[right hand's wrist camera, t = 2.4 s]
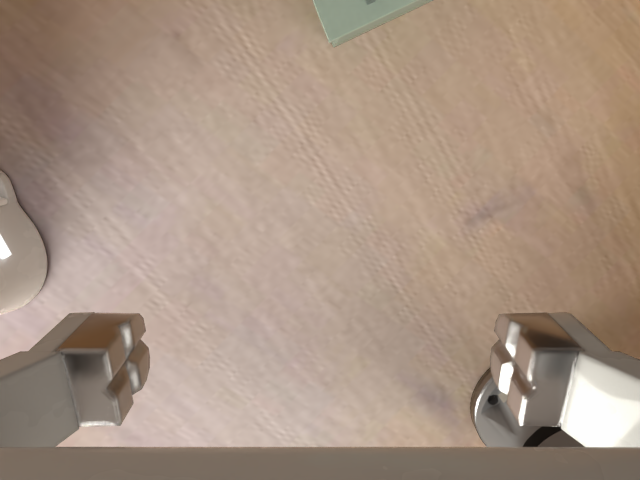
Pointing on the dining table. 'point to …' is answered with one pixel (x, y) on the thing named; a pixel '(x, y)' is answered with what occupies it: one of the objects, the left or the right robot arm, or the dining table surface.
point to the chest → (379, 22)
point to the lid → (353, 14)
